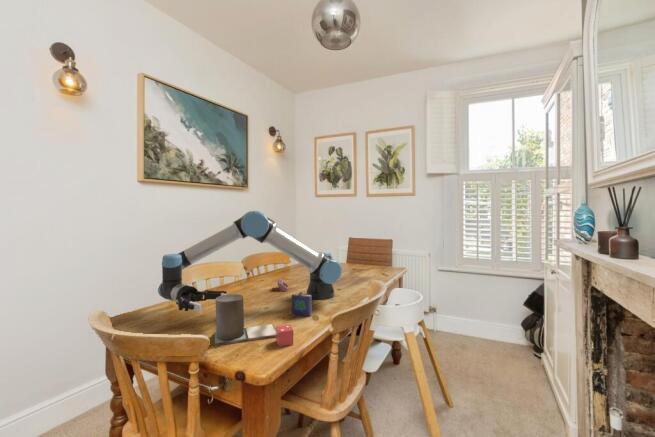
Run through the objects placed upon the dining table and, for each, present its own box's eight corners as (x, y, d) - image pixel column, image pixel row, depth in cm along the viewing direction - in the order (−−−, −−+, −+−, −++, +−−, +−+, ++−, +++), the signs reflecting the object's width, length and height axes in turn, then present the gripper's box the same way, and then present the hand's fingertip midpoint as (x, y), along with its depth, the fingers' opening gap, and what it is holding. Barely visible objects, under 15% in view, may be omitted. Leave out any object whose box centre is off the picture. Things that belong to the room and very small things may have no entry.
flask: (312, 314, 134) (312, 290, 133) (310, 317, 131) (310, 292, 131) (292, 313, 136) (292, 289, 136) (290, 315, 133) (290, 291, 133)
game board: (273, 325, 121) (273, 323, 121) (278, 336, 110) (278, 334, 110) (214, 333, 113) (214, 331, 113) (214, 346, 103) (214, 343, 103)
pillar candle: (249, 332, 112) (249, 291, 112) (230, 342, 103) (230, 298, 103) (229, 328, 116) (228, 289, 116) (209, 337, 107) (209, 295, 107)
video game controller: (281, 289, 182) (276, 279, 181) (288, 286, 182) (283, 275, 181) (281, 294, 172) (275, 283, 171) (288, 290, 172) (282, 279, 172)
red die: (289, 338, 109) (289, 324, 109) (293, 344, 104) (293, 329, 104) (276, 340, 107) (276, 326, 107) (278, 346, 102) (278, 331, 102)
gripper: (211, 296, 136) (243, 305, 124) (153, 311, 115) (185, 323, 103) (211, 279, 136) (243, 286, 124) (153, 292, 115) (185, 302, 103)
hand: (217, 303), depth 113 cm, fingers open, 13 cm apart
